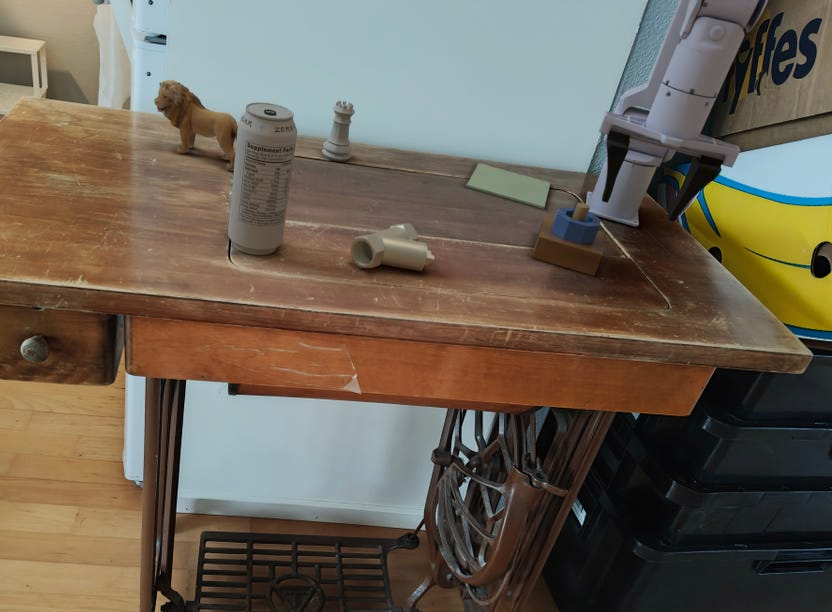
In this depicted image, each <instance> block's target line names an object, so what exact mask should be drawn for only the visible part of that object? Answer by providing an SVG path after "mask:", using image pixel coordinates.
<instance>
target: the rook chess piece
mask: <svg viewBox="0 0 832 612" xmlns="http://www.w3.org/2000/svg"><path fill="white" fill-rule="evenodd" d="M332 111H333V112H334V117H332V121H333V123H332V127H331V131H330V134H329V136H328V137H327V138H326V139H327V140H325V141H324V142H323V148H324V149H323V148H322V150H321V153H322V155H323V156H324V158H326V159H328V160H330V161H335V162H347V161H349V159H351V157H352V155H351V154H350V153H351V152H352V146H351V144H350V143H351V142H350V139H349V135H350V125H351V124H352V120H351V118H352V117H353V115H354V114H355V109H354V104H353V103H352V102H350V101H349V102H348V103H347V101H346V100H343V101H341V100H337V101H336V103H335V105H334V106H333V107H332Z"/></svg>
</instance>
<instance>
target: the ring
mask: <svg viewBox="0 0 832 612" xmlns="http://www.w3.org/2000/svg"><path fill="white" fill-rule="evenodd" d="M575 208H576V207H574V206H573V207H572V206H569V207H568V206H566V207H558V209H557V212H556V215H555V217H554V218H555V220H554V223H553V226H552V232H553V233H555V234H556V235H558V236H559V237H561V238H562V239H564V240H567V241H571V242H574V243H578V244H588V243H593V242H594V240H595V237H596V235H597V232H598V231H600V227H601V219H600V218H599V217H598V216H595V215H593V214H591V213H589V212H588V213H587V216H586V219H585V221H584V222H581V221H577V220H574V219H572V216H573V214H574V211H575Z"/></svg>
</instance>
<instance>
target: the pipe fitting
mask: <svg viewBox="0 0 832 612" xmlns="http://www.w3.org/2000/svg"><path fill="white" fill-rule="evenodd" d="M419 239H420V237H419V235H418V232H417V231H416V229H415V227H414V226H413V225H412V223H409V222H408V223H397V224H393V225H390V226H389V228H386V229H383V230H380V231H377V232H374V233H371V234H362V235H358V236H356V237H353V240H352V243H351V245H350V255H351V258H352V259H353V262H354V263H355V264H356V266H357V267H358V268H360V269H372V268H376V267H378V266H380V265H384V266H390V267H393V268H400V269H405V270H411V271H416V272H423V269H424V268H425V267H429V265H430V264H433V263H434V262H435V255H434V254H432V251H431V250H429V248H428V243H426V242H422V241H419Z"/></svg>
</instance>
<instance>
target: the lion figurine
mask: <svg viewBox="0 0 832 612" xmlns="http://www.w3.org/2000/svg"><path fill="white" fill-rule="evenodd" d="M158 84H159V89H158V94H157V97H155V98H154V100H153V103H154V105H155V106H156V110H157V112H158V113H162V115H163V116H164V117H165V118H166V119H168V120H169V121H170V125H171V126H172V127H174V128H176V129H178V130H179V134H180V140H181V147H177V150H176V151H177V153H178V154H181V155H182V154H186V153H188V152H189V150H190V149H193V148H194V146H195V142H196V136H197V135H199V136H201V137H203V138H204V137H205V138H215V137H216V140H217V143H218V145H219V147H220V149H221V150H222V152H223V153H224V154H222V155H221V159H222V160H225V161H230V163H227V164H226V170H227V171H228V172H229V171H230V172H234V164H235V153H236V152H235V150H234V145H235V141H236V142H237V131H238V123H237V121H236V120H237V119H235V117H234V116H233V115H231V114H230V113H227V112H220V111H219V112H218V111H215V110H211V109H209V108H206V107H205V106H204V105H203V103H202V101H201V99H200V98H199V97H198V96H197V95H195V93H194V92H191V90H190V89H189V88H188V87H187V86H185V85H184V84H182V83H181V82H179V81H176V80H172V79H166V80H162V82H159V83H158Z"/></svg>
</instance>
